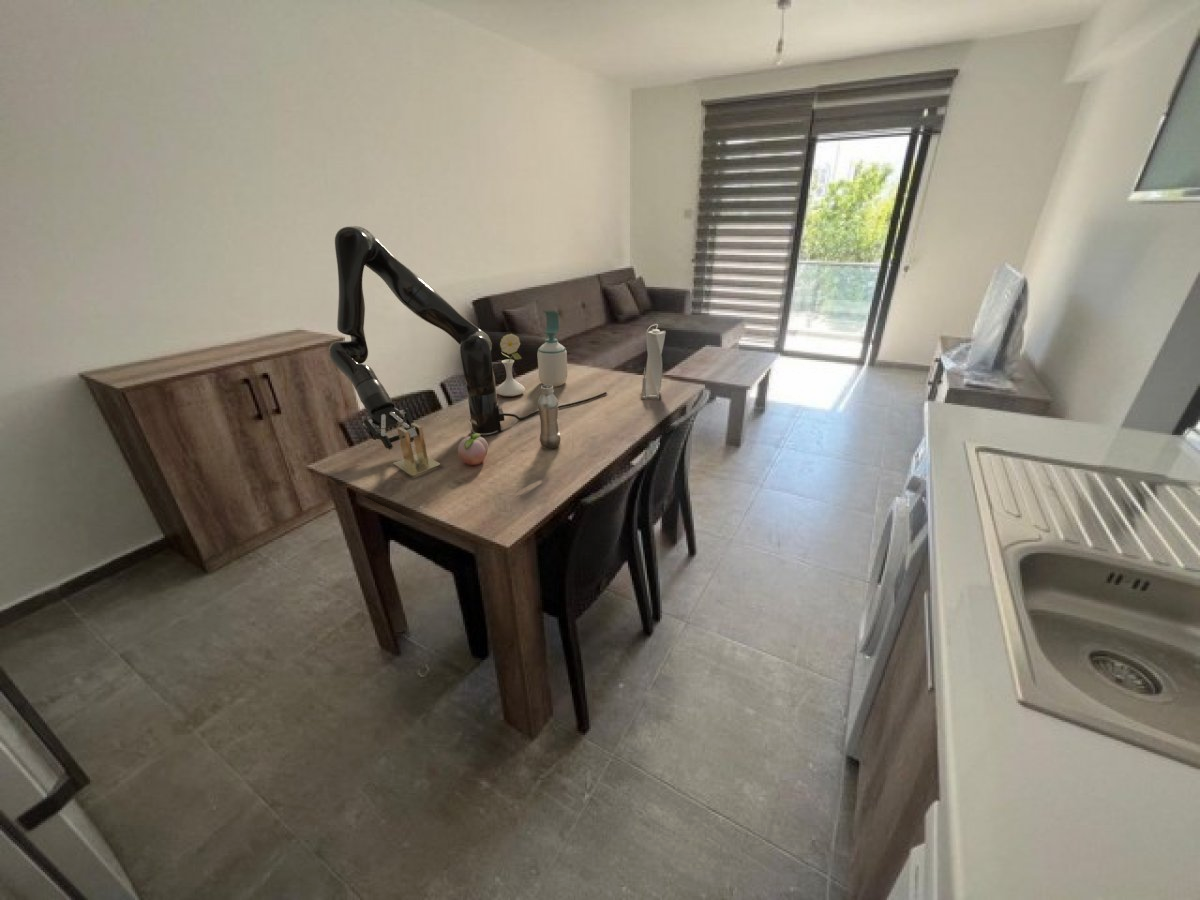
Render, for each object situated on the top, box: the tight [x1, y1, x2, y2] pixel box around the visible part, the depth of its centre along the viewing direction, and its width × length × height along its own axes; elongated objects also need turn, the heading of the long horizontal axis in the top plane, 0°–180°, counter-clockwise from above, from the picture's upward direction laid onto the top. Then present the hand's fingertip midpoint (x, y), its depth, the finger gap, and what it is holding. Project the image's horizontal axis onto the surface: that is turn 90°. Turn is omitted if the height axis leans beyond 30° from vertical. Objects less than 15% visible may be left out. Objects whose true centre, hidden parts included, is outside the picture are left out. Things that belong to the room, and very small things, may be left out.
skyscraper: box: [640, 323, 667, 401], centre depth 186 cm, size 8×8×28 cm
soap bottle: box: [536, 310, 568, 388], centre depth 200 cm, size 12×12×31 cm
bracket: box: [392, 422, 442, 477], centre depth 137 cm, size 11×9×13 cm
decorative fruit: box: [457, 433, 489, 466], centre depth 138 cm, size 9×8×10 cm
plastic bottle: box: [536, 384, 561, 450], centre depth 147 cm, size 6×7×20 cm
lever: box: [388, 427, 417, 444], centre depth 138 cm, size 12×6×2 cm, turn 48°
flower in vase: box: [496, 333, 526, 397], centre depth 189 cm, size 13×11×25 cm
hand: (401, 444), depth 142 cm, fingers closed on lever, 6 cm apart
